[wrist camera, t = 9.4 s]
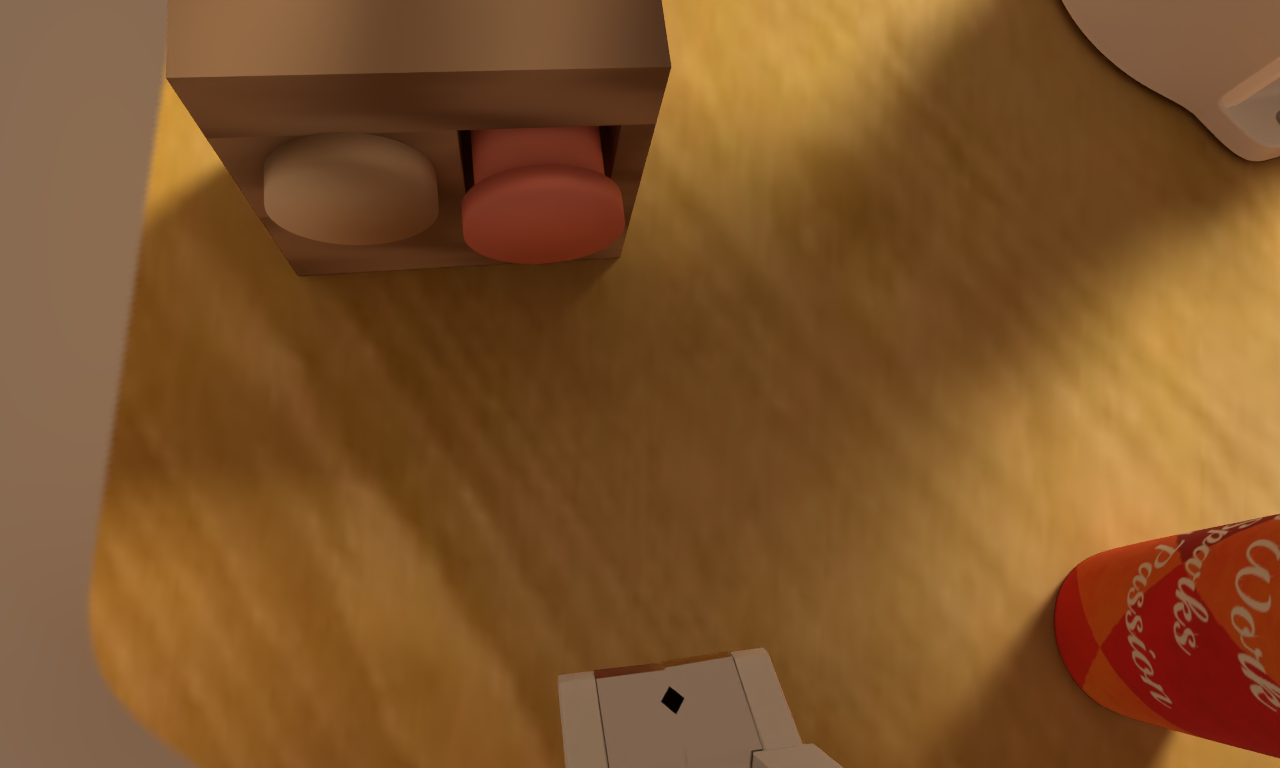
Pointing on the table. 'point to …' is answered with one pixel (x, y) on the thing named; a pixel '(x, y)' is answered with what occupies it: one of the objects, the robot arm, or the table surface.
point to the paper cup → (1182, 632)
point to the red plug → (540, 195)
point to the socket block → (405, 109)
